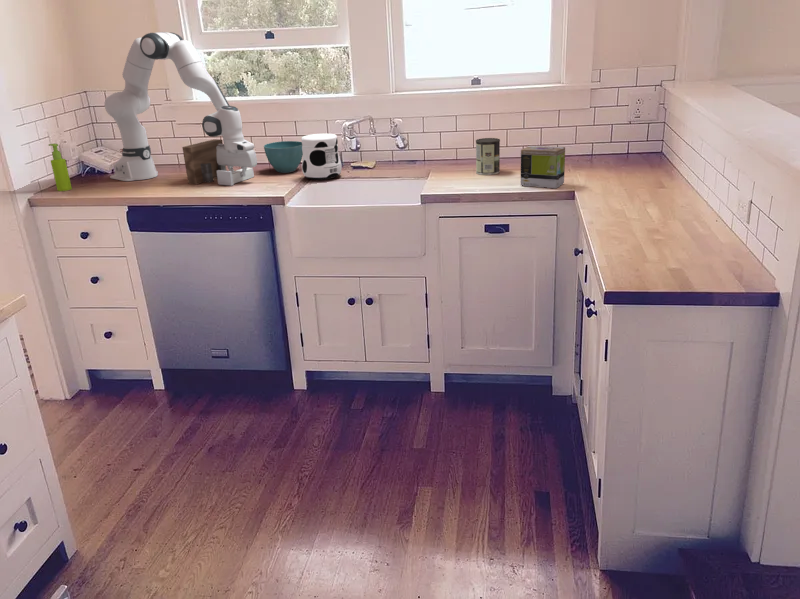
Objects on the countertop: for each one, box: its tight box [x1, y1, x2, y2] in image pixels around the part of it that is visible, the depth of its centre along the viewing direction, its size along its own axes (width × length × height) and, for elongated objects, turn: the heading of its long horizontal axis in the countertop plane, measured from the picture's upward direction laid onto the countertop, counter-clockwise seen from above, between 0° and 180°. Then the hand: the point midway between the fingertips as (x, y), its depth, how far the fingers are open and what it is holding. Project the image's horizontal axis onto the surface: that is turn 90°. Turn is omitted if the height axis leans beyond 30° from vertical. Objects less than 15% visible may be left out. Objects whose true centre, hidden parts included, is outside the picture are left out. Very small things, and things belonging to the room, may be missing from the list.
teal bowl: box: [263, 140, 303, 174], centre depth 323 cm, size 18×18×12 cm
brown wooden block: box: [181, 138, 228, 185], centre depth 313 cm, size 8×20×16 cm, turn 152°
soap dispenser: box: [48, 143, 73, 192], centre depth 306 cm, size 6×7×20 cm
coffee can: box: [475, 137, 501, 176], centre depth 301 cm, size 10×10×14 cm
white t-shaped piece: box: [216, 167, 255, 186], centre depth 308 cm, size 17×8×6 cm, turn 152°
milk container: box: [301, 133, 342, 181], centre depth 305 cm, size 17×17×18 cm
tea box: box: [520, 145, 566, 189], centre depth 275 cm, size 15×10×15 cm
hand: (238, 176), depth 309 cm, fingers closed on white t-shaped piece, 4 cm apart
